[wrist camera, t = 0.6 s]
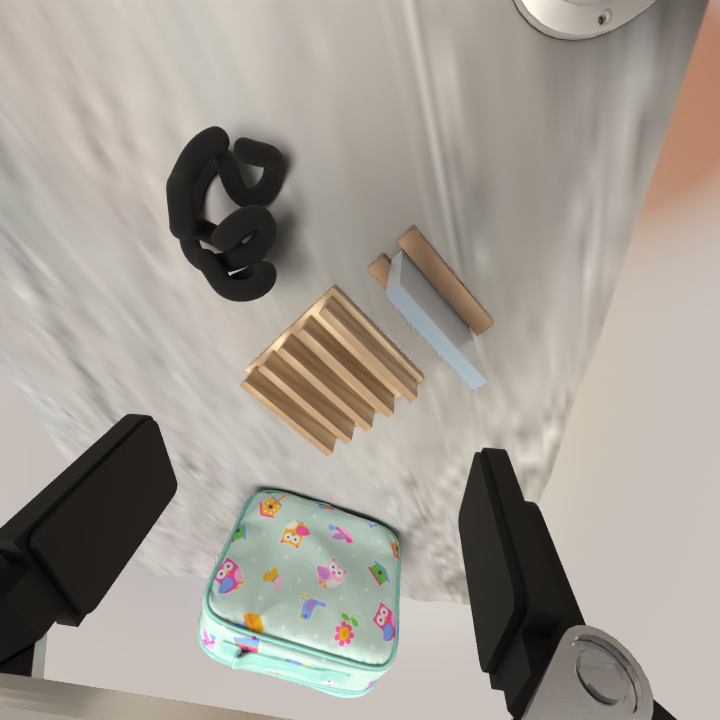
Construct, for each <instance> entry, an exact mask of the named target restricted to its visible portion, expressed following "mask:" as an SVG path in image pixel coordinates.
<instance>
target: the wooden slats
mask: <svg viewBox="0 0 720 720" xmlns="http://www.w3.org/2000/svg"><path fill="white" fill-rule="evenodd" d="M397 243H398V244H399V245H400V246H401V247H402V249H403V250H404V251H405V252H406V253H407V254H408V256H409V257H410V258H411V259H412V260H413V261H414V262H415V264H416V265H417V266H418V267H419V268H420V269H421V271H422V272H423V273H424V274H425V275H426V276H427V278H428V279H429V280H430V281H431V282H432V283H433V285H434V286H435V287H436V288H437V289H438V290H439V292H440V293H441V294H442V295H443V296H444V297H445V298H446V300H447V301H448V302H449V303H450V304H451V305H452V307H453V308H454V309H455V310H456V311H457V312H458V314H459V315H460V316H461V317H462V318H463V319H464V321H465V322H466V323H467V324H468V325H469V326H470V328H471V329H472V330H473V331H474V332H475V333H476V334H477V336H478V335H479V334H481V333H482V332H484V331H485V330H487V329H488V328H490V327H491V326H492V325H494V323H493V321H492V319H491V318H490V317H489V316H488V315H487V313H486V312H485V311H484V310H483V309H482V307H481V306H480V305H479V304H478V303H477V301H476V300H475V299H474V298H473V296H472V295H471V294H470V293H469V292H468V290H467V289H466V288H465V287H464V286H463V284H462V283H461V282H460V281H459V280H458V278H457V277H456V276H455V275H454V274H453V272H452V271H451V270H450V269H449V267H448V266H447V265H446V264H445V263H444V261H443V260H442V259H441V258H440V257H439V255H438V254H437V253H436V252H435V251H434V249H433V248H432V247H431V246H430V245H429V243H428V242H427V241H426V240H425V238H424V237H423V236H422V235H421V234H420V232H419V231H418V230H417V229H416V228H415V226H414V225H413V226H412V227H411V228H410V229H409V230H408V231H407V232H405V233H404V234H403V235H402V236H401V237H400V238H399V239H398V240H397ZM390 265H391V261H390V260H389V259H388V258H387V257H386V256H385V254H384V253H383V254H382V255H380V256H379V257H378V258H377V259H376V260H375V261H374V262H373V263H372V264H371V265H370V266H369V267H368V271H369V272H370V273H371V274H372V275H373V276H374V277H375V278H376V279H377V280H378V281H379V283H380V284H381V285H382V286H383V287H384V288H385V289H386V288H387V282H388V277H389V271H390Z"/></svg>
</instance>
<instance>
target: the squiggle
mask: <svg viewBox="0 0 720 720" xmlns="http://www.w3.org/2000/svg"><path fill="white" fill-rule="evenodd" d="M229 144H230V141H229V137H228V135H227V133H226V132H225V131H224V130H223V129H222V128H220V127H217V126H213V127H210V128H207V129H205V130H203V131H202V132H200V133H199V134H197V135H196V136H195V137H194V138H193V139H192V140H191V141H190V142H189V143H188V144H187V145H186V147H185V148H184V150H183V151H182V153H181V154H180V156H179V158H178V160H177V162H176V164H175V166H174V168H173V170H172V172H171V175H170V176H169V178H168V181H167V185H166V192H167V203H168V213H169V223H170V225H169V226H170V231H171V233H172V234H173V235H174V236H175V237H176V238H178V239H179V240H180V245H181V248H182V251H183V253H184V255H185V257H186V258H187V260H188V261H189V262H190V263H191V264H192V265H193V266H194V267H196V268H197V269H199V270H201V271H202V273H203V274H204V276H205V277H206V279H207V280H208V282H209V284H210V285H211V286H212V288H213V289H214V290H215V291H216V292H217V293H218V294H219V295H221V296H222V297H224V298H226V299H228V300H232V301H237V302H245V301H251V300H255V299H258V298H260V297H262V296H264V295H265V294H266V293H268V292H269V291H270V290H271V288H272V287H273V285H274V284H275V281H276V277H277V273H276V269H275V267H274V266H273V265H272V264H271V263H269V262H267V261H262V260H263V258H264V257H265V255H266V253H267V252H268V251H269V250H270V248H271V247H272V245H273V243H274V241H275V237H276V223H275V220H274V218H273V216H272V214H271V213H270V212H269V211H268V210H267V209H265V208H264V207H262V206H264V205H265V204H267V203H268V202H269V201H270V200H271V199H272V198H273V197H274V196H275V194H276V193H277V191H278V189H279V187H280V184H281V181H282V178H283V173H284V160H283V156H282V154H281V153H280V151H279V150H278V149H277V148H275V147H274V146H272V145H269V144H265V143H262V142H258V141H254V140H251V139H248V138H239V139H238V140H237V141H236V142H235V144H234V153H235V155H236V157H237V158H238V160H240V161H241V162H243V163H246V164H250V165H254V166H258V167H263V168H264V171H263V175H262V177H261V180H260V181H259V183H258V184H257V185H256V186H254V187H253V188H247V187H246V185H245V183H244V181H243V179H242V176H241V173H240V171H239V168H238V165H237V163H236V160H235V158H234V156H233V155H232V153H231V152H230V151H229V150H228V148H229ZM217 171H218V173H219V176H220V178H221V181H222V183H223V186H224V188H225V190H226V192H227V194H228V195H229V197H230V198H231V199H232V200H233V201H234V202H235V203H236V204H237V205H238V206H240V207H242V208H240V209H238V210H236V211H234V212H233V213H232V214H230V215H229V216H228V217H226V218H225V219H224V220H223V221H222V222H221V223H220V224H219V225H218V226H217V225H215V224H213V223H211V222H209V221H207V220H205V219H203V218H200V217H199V213H200V206H201V201H202V197H203V194H204V191H205V189H206V187H207V185H208V183H209V181H210V180H211V178H212V177H213V176H214V174H215V173H216V172H217ZM251 235H252V238H251V239H250V240H249V241H248V242H246V243H245V244H244V243H242V242H241V241H242V240H244V239H245V238H247V237H249V236H251ZM199 240H201V241H204V242H206V243H208V244H210V245H212V246H214V247H215V248H217V249H218V250H220V251H223V253H217V254H215V253H214V252H213V251H211V250H209V249H203V248H202V247H201V244H200V241H199ZM247 266H248V267H247ZM244 267H246V268H245V269H243V270H241V271H239V272H236V273H234V274H232V275H231V276H230V275H229V274H228V272H232V271H236V270H239V269H242V268H244Z"/></svg>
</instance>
